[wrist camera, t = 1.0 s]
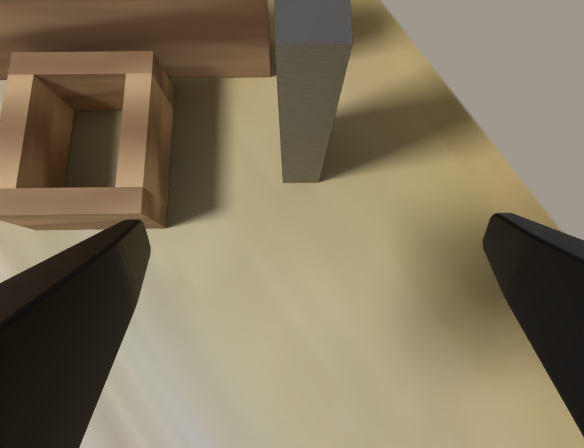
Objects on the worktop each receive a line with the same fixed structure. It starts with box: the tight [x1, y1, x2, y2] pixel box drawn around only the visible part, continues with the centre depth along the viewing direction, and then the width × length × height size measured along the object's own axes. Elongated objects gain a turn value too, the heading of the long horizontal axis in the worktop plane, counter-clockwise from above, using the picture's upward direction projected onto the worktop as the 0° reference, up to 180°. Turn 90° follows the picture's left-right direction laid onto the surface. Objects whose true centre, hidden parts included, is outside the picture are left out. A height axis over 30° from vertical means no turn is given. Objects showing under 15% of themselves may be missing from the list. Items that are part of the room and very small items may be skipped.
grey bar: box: [275, 0, 353, 183], centre depth 18 cm, size 4×2×13 cm, turn 1°
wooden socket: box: [0, 0, 271, 230], centre depth 19 cm, size 14×22×10 cm, turn 91°
